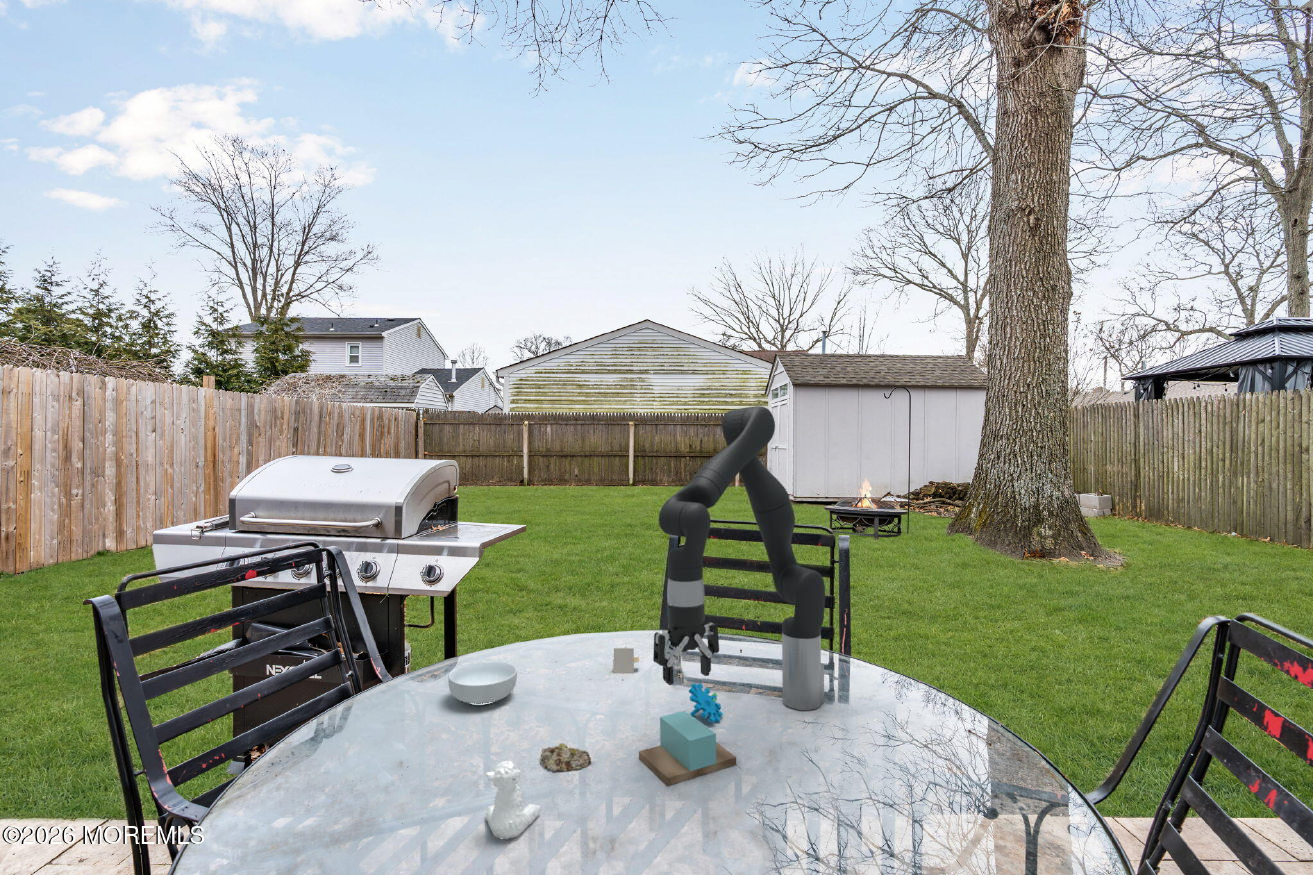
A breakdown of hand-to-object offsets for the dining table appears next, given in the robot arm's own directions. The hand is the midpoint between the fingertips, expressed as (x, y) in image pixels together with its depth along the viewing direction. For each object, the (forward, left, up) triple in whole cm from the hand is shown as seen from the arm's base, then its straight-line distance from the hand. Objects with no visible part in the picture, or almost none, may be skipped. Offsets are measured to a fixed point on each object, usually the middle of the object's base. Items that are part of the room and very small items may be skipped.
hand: (687, 679), depth 136 cm
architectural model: (-10, -50, -18) cm, 54 cm away
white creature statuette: (+38, +4, -17) cm, 42 cm away
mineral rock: (+22, -12, -18) cm, 31 cm away
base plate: (0, 0, -17) cm, 17 cm away
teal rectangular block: (0, 0, -16) cm, 16 cm away
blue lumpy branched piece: (-14, -15, -17) cm, 27 cm away
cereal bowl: (+28, -52, -17) cm, 61 cm away
